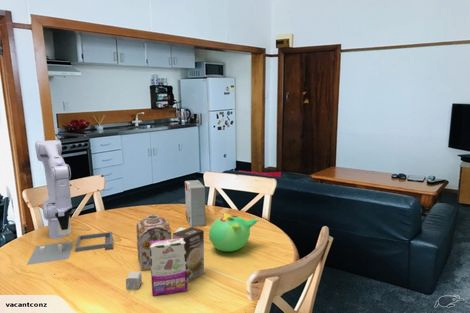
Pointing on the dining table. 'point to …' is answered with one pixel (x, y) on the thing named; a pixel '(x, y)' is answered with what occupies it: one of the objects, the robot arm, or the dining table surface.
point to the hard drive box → (195, 203)
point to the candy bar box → (168, 266)
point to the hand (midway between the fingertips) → (65, 228)
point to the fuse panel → (50, 253)
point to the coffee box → (193, 251)
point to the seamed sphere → (180, 229)
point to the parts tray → (107, 245)
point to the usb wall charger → (133, 280)
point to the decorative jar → (150, 237)
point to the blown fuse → (64, 230)
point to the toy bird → (230, 232)
